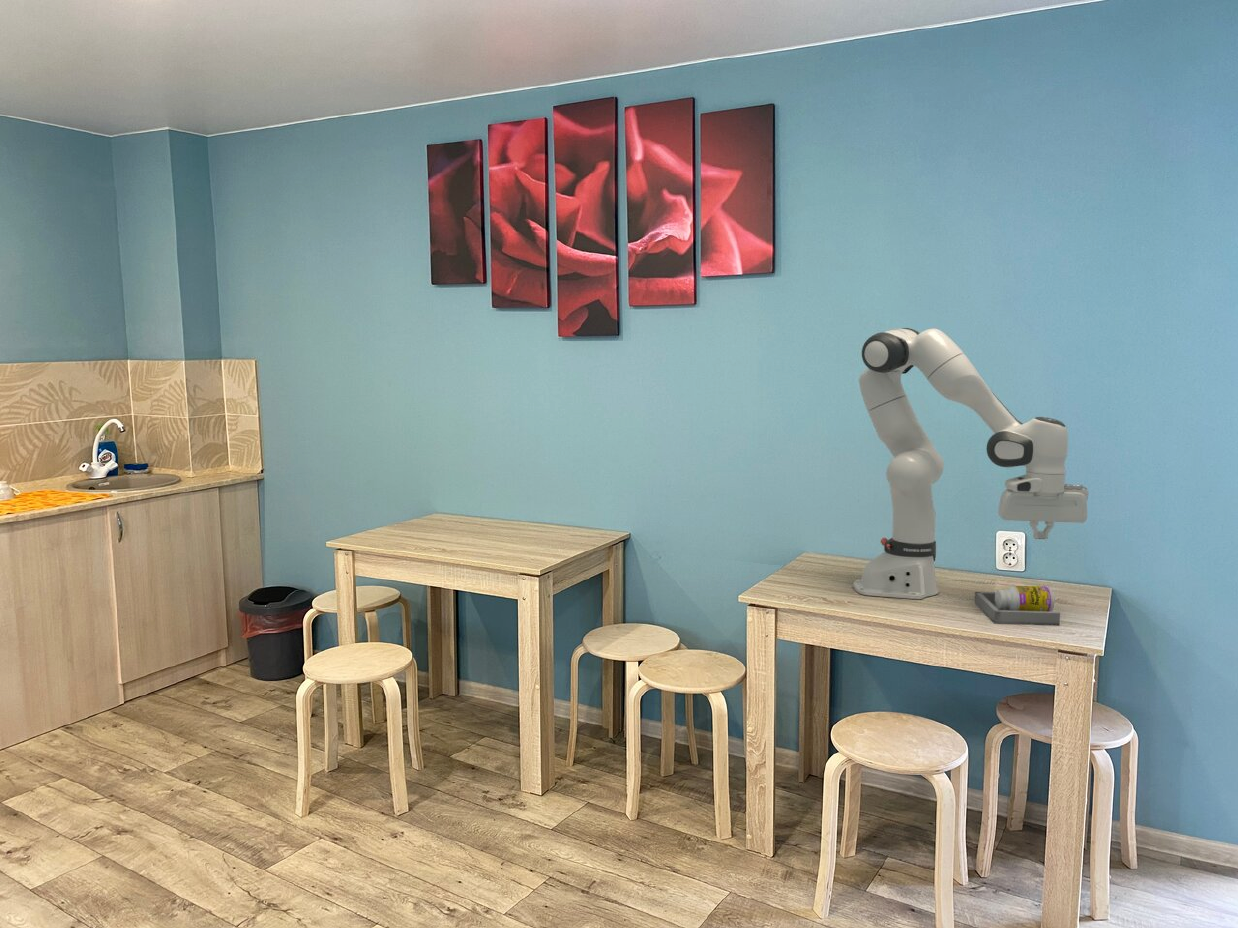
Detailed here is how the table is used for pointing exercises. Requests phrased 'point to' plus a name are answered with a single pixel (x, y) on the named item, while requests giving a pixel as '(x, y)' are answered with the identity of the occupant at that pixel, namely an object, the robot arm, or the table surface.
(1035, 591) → the supplement bottle
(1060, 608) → the table surface
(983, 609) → the tray
